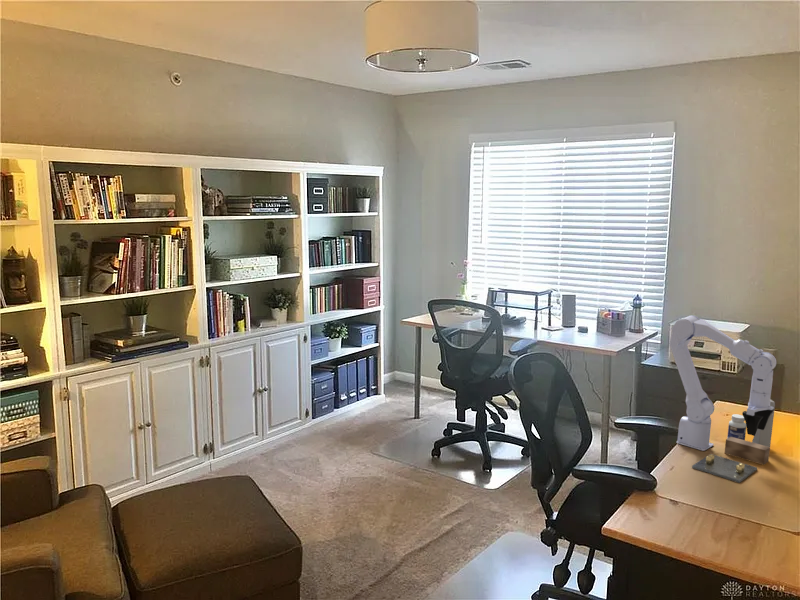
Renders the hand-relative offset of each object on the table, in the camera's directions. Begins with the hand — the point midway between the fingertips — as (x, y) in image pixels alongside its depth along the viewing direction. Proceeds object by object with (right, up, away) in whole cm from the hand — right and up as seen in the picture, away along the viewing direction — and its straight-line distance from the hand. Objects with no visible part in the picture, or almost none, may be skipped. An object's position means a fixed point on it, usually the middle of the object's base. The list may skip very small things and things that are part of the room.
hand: (755, 431), depth 208 cm
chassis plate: (-13, -10, -6) cm, 18 cm away
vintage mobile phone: (+8, -8, +12) cm, 17 cm away
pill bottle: (+1, -7, +15) cm, 17 cm away
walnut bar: (-1, -9, +3) cm, 10 cm away
